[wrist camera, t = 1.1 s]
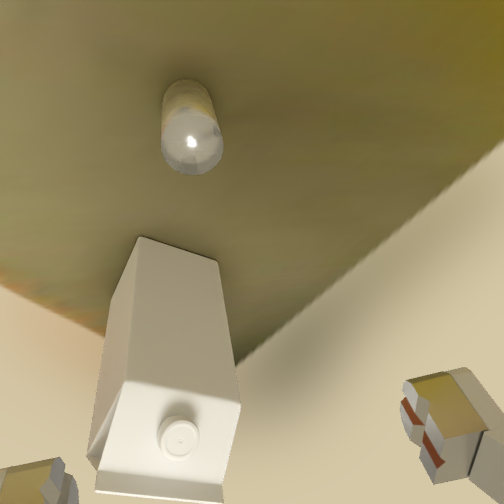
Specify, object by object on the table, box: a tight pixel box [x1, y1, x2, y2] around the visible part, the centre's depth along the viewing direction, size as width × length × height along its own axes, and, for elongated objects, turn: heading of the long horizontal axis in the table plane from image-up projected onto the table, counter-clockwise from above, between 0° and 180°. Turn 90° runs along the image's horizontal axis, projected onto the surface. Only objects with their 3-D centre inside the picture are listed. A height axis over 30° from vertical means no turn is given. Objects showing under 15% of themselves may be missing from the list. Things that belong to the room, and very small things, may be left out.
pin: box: [161, 79, 223, 175], centre depth 28 cm, size 3×3×8 cm
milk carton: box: [86, 236, 241, 504], centre depth 31 cm, size 7×7×19 cm
